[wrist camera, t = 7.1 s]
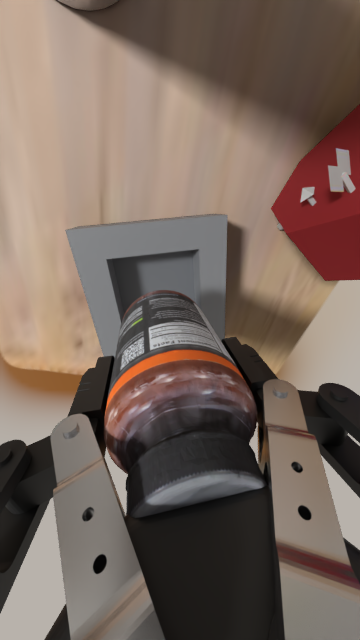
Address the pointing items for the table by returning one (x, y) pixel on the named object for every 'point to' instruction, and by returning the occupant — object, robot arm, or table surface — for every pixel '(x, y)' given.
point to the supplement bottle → (178, 409)
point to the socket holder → (151, 267)
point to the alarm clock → (327, 203)
